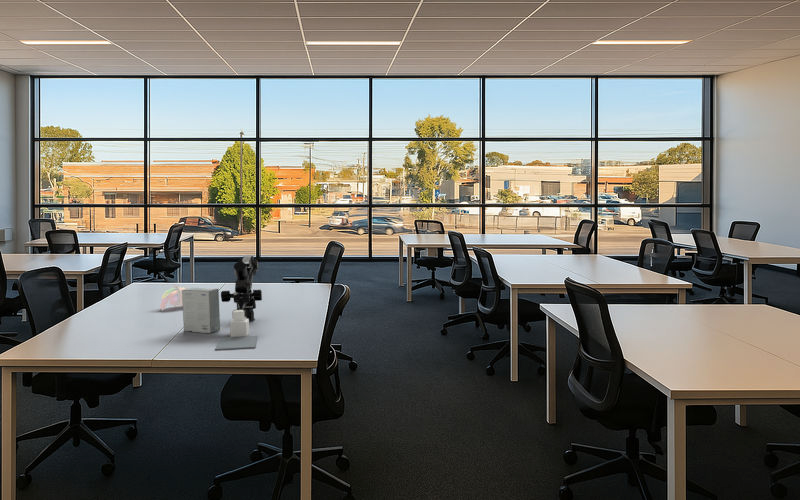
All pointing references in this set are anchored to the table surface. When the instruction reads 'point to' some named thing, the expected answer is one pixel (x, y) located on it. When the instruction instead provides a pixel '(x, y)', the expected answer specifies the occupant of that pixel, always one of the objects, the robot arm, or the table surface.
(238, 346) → the mat
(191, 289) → the hard drive box
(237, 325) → the medicine bottle
